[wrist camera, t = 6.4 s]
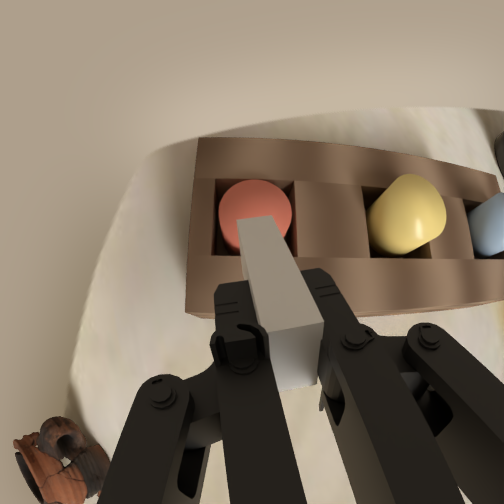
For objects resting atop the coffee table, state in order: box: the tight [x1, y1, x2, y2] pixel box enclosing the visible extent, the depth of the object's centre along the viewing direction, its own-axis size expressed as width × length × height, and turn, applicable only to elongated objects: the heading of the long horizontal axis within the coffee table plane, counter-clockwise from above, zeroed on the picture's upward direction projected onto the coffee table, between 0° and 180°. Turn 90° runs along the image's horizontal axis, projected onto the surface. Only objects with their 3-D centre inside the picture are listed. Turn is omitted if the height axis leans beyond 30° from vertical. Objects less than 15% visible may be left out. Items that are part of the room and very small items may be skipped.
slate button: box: [466, 192, 504, 259], centre depth 19 cm, size 4×4×4 cm
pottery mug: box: [13, 416, 110, 504], centre depth 18 cm, size 12×10×8 cm
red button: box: [219, 179, 292, 256], centre depth 20 cm, size 4×4×4 cm
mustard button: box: [365, 174, 446, 258], centre depth 18 cm, size 4×4×4 cm
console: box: [185, 137, 504, 319], centre depth 23 cm, size 28×12×8 cm, turn 90°
